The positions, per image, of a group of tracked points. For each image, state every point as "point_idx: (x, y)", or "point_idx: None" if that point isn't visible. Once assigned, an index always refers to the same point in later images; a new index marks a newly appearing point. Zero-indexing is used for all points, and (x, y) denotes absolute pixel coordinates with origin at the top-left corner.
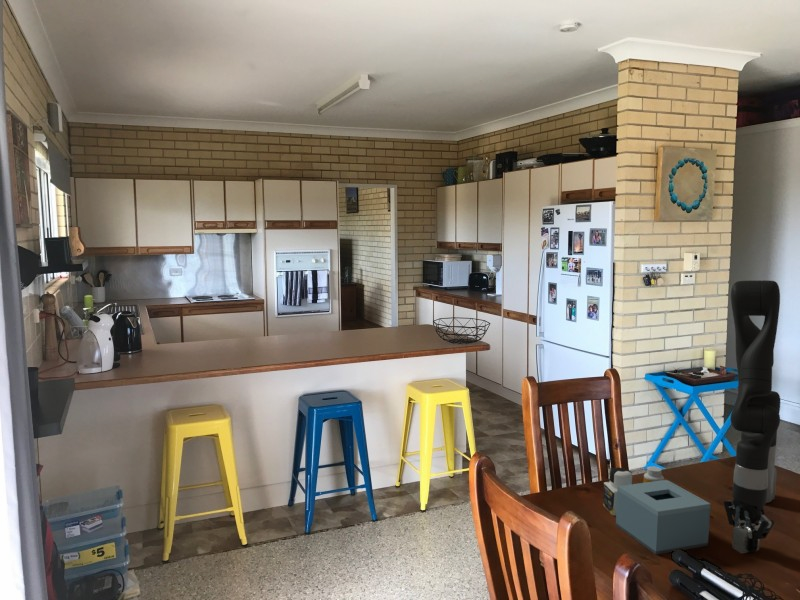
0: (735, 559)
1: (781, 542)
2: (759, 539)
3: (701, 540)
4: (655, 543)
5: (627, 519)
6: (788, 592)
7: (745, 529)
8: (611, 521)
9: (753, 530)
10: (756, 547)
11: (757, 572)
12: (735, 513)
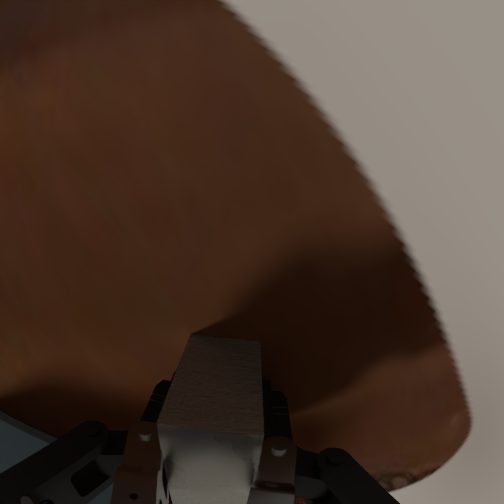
0: None
1: (241, 114)
2: (261, 383)
3: None
4: None
5: None
6: (465, 439)
7: (221, 493)
8: None
9: (253, 475)
10: (285, 407)
11: (372, 459)
12: (67, 482)
